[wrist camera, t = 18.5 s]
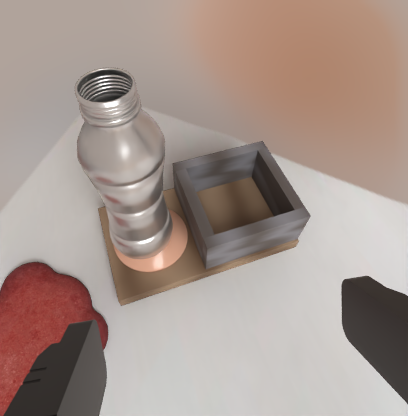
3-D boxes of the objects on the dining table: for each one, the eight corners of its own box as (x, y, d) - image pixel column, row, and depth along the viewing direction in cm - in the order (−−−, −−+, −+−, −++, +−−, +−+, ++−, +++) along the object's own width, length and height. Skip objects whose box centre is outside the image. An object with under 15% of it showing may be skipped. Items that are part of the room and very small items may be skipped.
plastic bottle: (103, 237, 36) (27, 82, 20) (151, 204, 39) (120, 43, 22) (137, 278, 34) (83, 139, 17) (186, 240, 36) (180, 87, 20)
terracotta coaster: (175, 199, 40) (175, 198, 40) (197, 258, 36) (197, 257, 35) (107, 218, 38) (106, 216, 38) (122, 282, 34) (121, 281, 34)
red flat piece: (39, 251, 38) (32, 243, 36) (129, 320, 34) (126, 315, 32) (-113, 392, 29) (-131, 391, 28) (-18, 506, 25) (-33, 512, 24)
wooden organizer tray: (253, 173, 45) (261, 139, 39) (295, 246, 39) (312, 218, 33) (100, 215, 40) (86, 183, 35) (121, 305, 34) (107, 283, 29)
